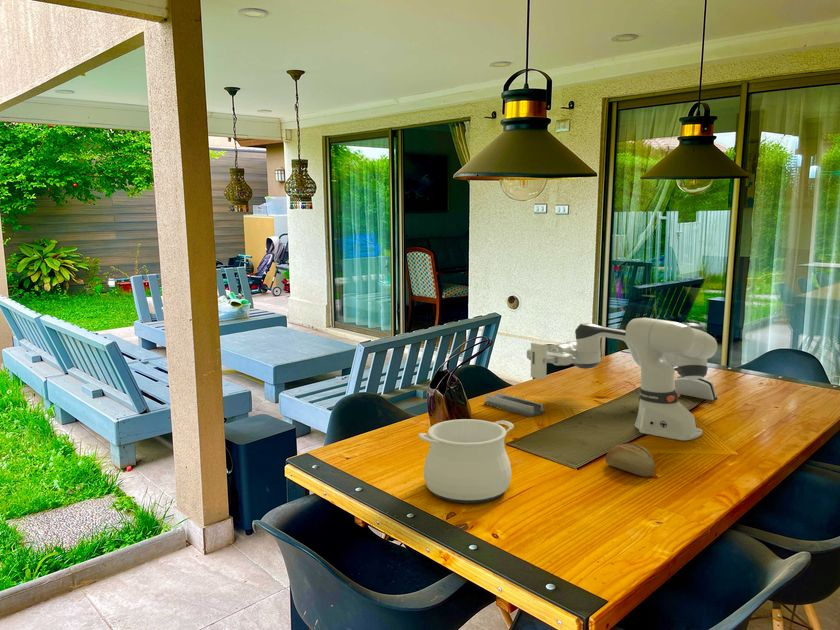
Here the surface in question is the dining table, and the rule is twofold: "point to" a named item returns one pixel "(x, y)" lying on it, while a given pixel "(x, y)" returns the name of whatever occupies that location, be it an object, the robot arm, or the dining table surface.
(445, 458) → the pot
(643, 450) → the bread roll
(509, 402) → the track
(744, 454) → the dining table surface
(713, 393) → the white curved block
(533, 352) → the white rectangular block
